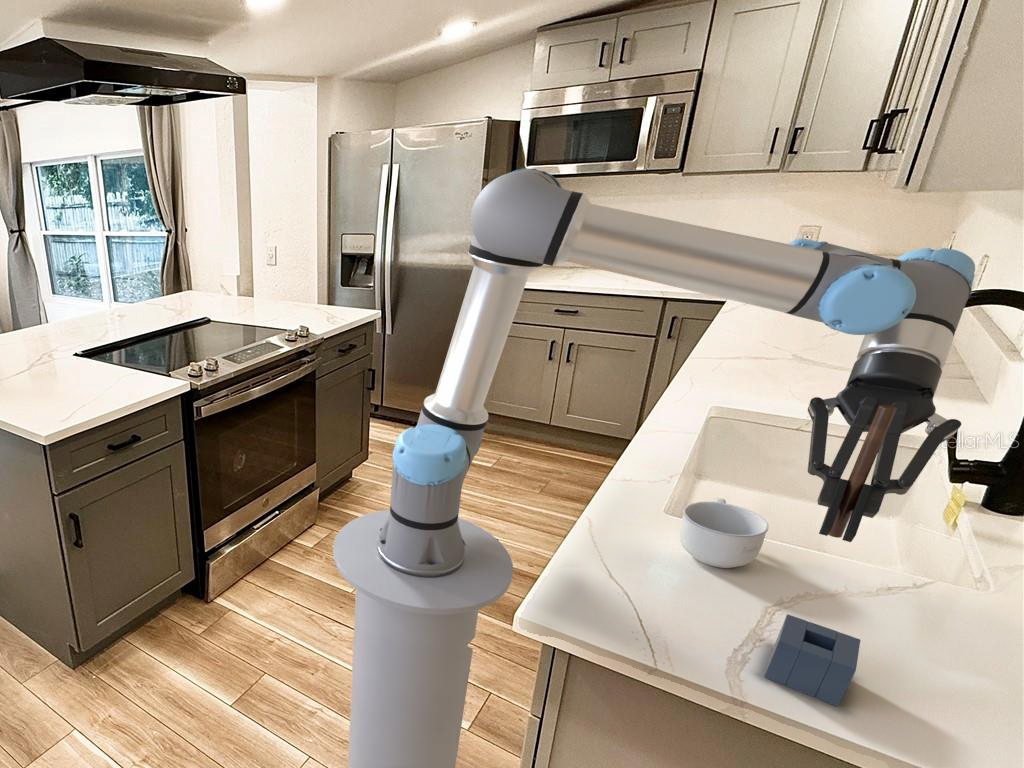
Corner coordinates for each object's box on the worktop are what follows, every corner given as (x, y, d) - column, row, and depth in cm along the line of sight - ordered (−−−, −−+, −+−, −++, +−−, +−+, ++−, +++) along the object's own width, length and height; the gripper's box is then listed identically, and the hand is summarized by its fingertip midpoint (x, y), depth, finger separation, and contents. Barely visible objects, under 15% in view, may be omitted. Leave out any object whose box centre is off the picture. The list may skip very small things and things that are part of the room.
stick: (825, 535, 76) (879, 407, 69) (826, 530, 76) (879, 403, 70) (841, 539, 75) (896, 409, 68) (842, 534, 75) (897, 406, 69)
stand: (764, 677, 79) (778, 641, 77) (772, 648, 83) (787, 613, 81) (837, 707, 74) (856, 670, 72) (843, 675, 79) (860, 639, 76)
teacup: (749, 585, 95) (765, 542, 92) (667, 560, 102) (679, 519, 99) (758, 545, 104) (773, 505, 101) (682, 524, 111) (693, 486, 108)
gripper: (975, 391, 74) (916, 567, 70) (814, 369, 83) (756, 523, 80) (998, 359, 68) (936, 548, 65) (824, 340, 78) (761, 503, 74)
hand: (836, 534), depth 72 cm, fingers closed on stick
